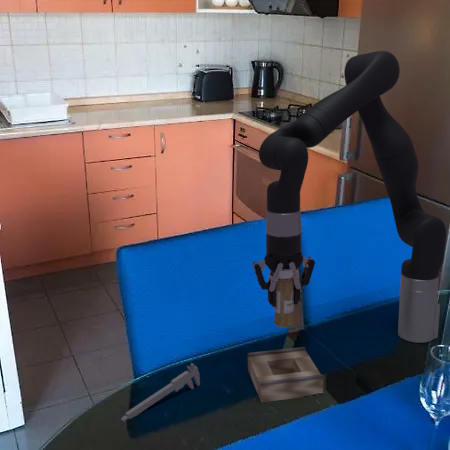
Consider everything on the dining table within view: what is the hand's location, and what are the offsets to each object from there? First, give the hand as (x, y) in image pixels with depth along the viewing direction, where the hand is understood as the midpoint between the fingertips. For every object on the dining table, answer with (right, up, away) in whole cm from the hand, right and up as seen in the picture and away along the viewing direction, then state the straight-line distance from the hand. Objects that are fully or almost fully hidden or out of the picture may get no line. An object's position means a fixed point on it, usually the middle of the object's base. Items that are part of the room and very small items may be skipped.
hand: (283, 303), depth 131 cm
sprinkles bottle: (0, -5, +1) cm, 5 cm away
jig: (+1, -19, +5) cm, 19 cm away
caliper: (-27, -22, -1) cm, 35 cm away
